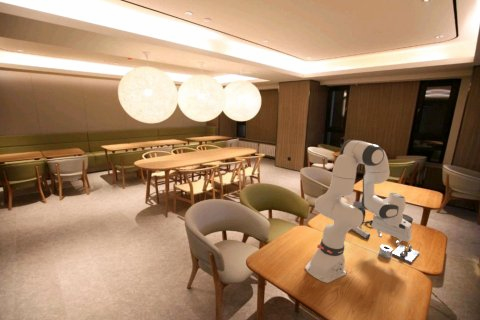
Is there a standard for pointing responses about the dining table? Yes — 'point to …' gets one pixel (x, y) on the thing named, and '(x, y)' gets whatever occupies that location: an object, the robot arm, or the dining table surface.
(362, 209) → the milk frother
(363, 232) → the grey brown bar
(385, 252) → the coupling
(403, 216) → the coffee can
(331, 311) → the dining table surface
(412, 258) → the valve base
